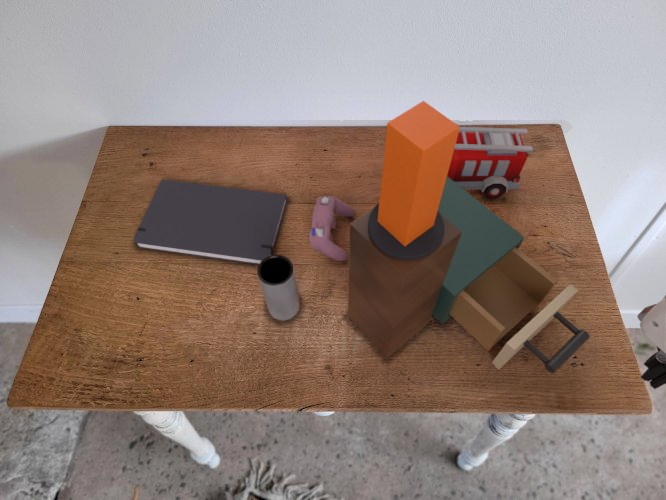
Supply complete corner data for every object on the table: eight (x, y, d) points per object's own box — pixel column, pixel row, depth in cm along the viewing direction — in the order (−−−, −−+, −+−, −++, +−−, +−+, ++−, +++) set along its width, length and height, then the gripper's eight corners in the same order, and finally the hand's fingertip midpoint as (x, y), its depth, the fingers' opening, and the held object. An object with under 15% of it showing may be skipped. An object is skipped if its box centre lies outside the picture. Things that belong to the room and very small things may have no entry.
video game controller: (332, 215, 79) (311, 189, 74) (357, 210, 77) (337, 183, 72) (323, 267, 74) (299, 242, 69) (349, 263, 72) (327, 237, 67)
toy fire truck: (398, 159, 84) (404, 114, 75) (507, 158, 83) (525, 113, 75) (402, 200, 79) (409, 157, 70) (518, 199, 78) (539, 155, 70)
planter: (304, 314, 68) (298, 278, 59) (273, 325, 67) (262, 290, 59) (294, 288, 70) (287, 249, 62) (264, 297, 69) (252, 260, 61)
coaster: (459, 231, 48) (460, 228, 48) (404, 273, 46) (405, 270, 45) (406, 187, 52) (407, 183, 51) (352, 224, 49) (352, 220, 49)
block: (433, 225, 48) (460, 126, 37) (404, 247, 47) (423, 151, 36) (405, 201, 50) (423, 100, 39) (377, 221, 49) (387, 122, 38)
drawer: (587, 338, 64) (611, 316, 59) (528, 397, 60) (547, 380, 55) (483, 250, 72) (495, 223, 66) (424, 297, 68) (431, 273, 62)
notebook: (287, 200, 79) (164, 185, 81) (286, 194, 78) (161, 179, 80) (268, 266, 72) (135, 247, 75) (267, 260, 71) (131, 241, 73)
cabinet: (506, 270, 71) (525, 237, 64) (442, 324, 67) (454, 295, 60) (435, 210, 78) (444, 173, 70) (371, 256, 73) (374, 222, 66)
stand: (429, 323, 67) (462, 231, 48) (386, 358, 64) (404, 276, 46) (389, 284, 70) (406, 185, 52) (347, 316, 68) (349, 223, 49)
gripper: (670, 254, 36) (571, 343, 52) (892, 412, 30) (705, 459, 46) (721, 203, 39) (613, 302, 54) (937, 339, 32) (744, 407, 48)
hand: (655, 374), depth 50 cm, fingers closed
